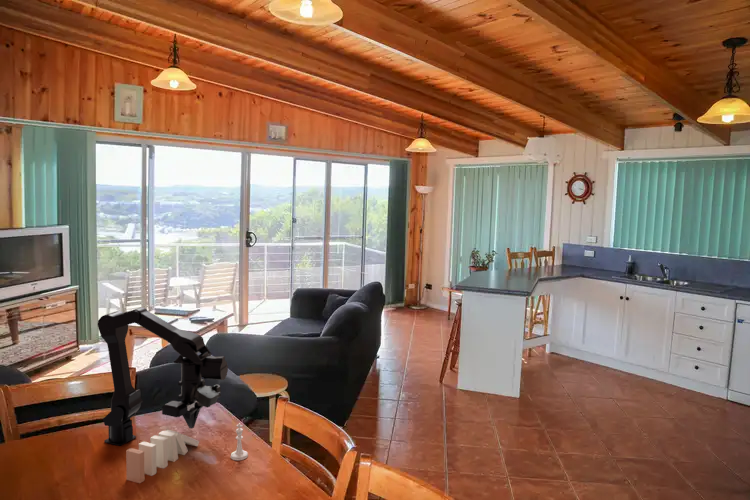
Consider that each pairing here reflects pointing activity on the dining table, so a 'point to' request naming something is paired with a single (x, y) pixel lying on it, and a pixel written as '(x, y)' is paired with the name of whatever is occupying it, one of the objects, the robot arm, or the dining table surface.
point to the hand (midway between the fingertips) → (191, 428)
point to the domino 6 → (189, 440)
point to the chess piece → (239, 445)
